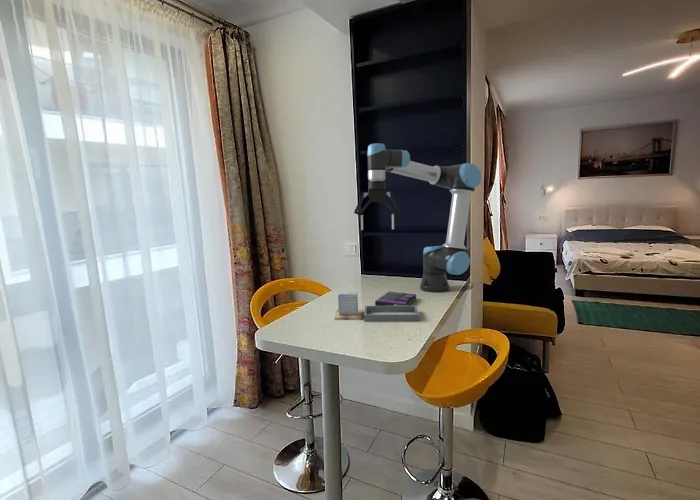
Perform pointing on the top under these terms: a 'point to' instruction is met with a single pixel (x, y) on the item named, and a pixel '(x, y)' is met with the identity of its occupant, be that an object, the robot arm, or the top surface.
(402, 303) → the box
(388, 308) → the bin
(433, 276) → the robot arm
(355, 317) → the pad
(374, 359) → the top surface
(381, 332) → the top surface
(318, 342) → the top surface
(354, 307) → the medicine box
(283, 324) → the top surface
